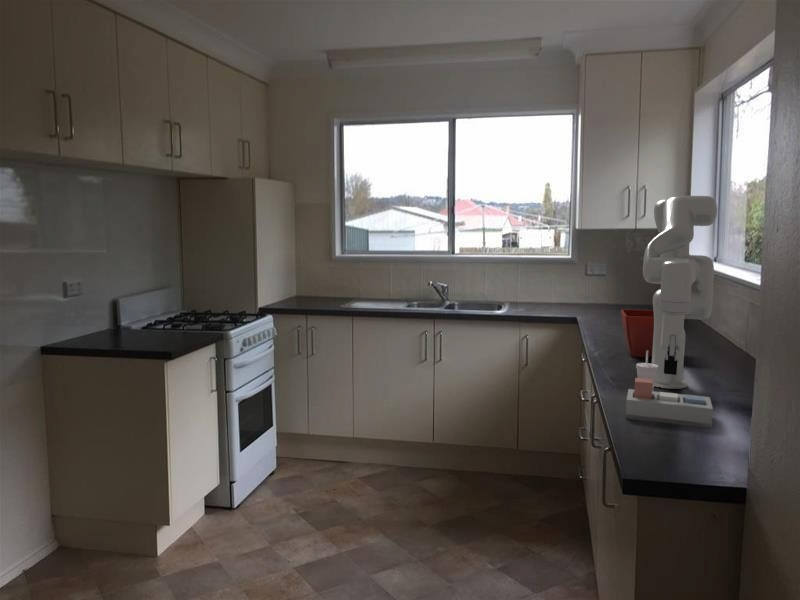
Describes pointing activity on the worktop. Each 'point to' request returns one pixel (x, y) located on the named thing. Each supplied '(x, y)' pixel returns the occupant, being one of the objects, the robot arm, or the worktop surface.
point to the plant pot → (638, 331)
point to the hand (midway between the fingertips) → (670, 373)
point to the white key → (668, 397)
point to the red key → (643, 388)
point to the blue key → (695, 399)
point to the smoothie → (647, 370)
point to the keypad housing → (669, 410)
